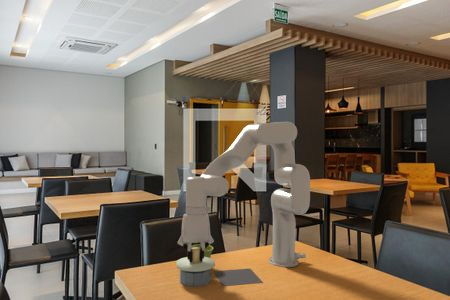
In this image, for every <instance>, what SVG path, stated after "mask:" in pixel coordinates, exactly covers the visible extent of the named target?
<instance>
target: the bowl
mask: <svg viewBox="0 0 450 300" xmlns="http://www.w3.org/2000/svg"><path fill="white" fill-rule="evenodd" d="M211 281H212V269H210V270H206V271H200V272H189V271H183V270H180V269H179V282H180V284H181V285H184V286H187V287H202V286H205V285H208V284H209V283H210V282H211Z"/></svg>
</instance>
